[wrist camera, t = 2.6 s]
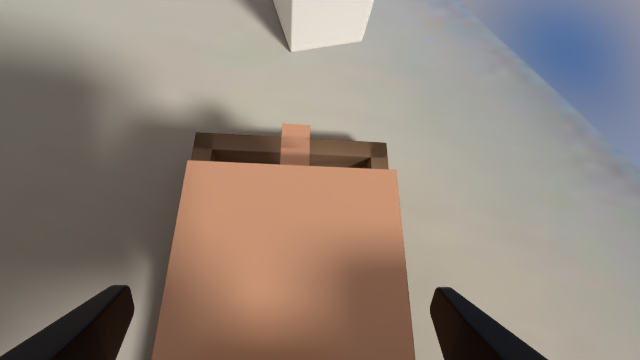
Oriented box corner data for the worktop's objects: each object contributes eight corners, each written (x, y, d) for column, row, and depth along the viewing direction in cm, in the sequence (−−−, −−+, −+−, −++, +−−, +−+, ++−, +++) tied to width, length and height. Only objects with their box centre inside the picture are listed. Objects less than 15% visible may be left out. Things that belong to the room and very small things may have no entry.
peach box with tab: (342, 347, 16) (421, 415, 7) (226, 348, 15) (138, 426, 6) (338, 199, 19) (389, 105, 10) (242, 195, 18) (200, 92, 9)
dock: (394, 441, 15) (415, 468, 12) (159, 452, 14) (134, 484, 11) (374, 160, 20) (386, 142, 18) (206, 152, 19) (196, 132, 17)
